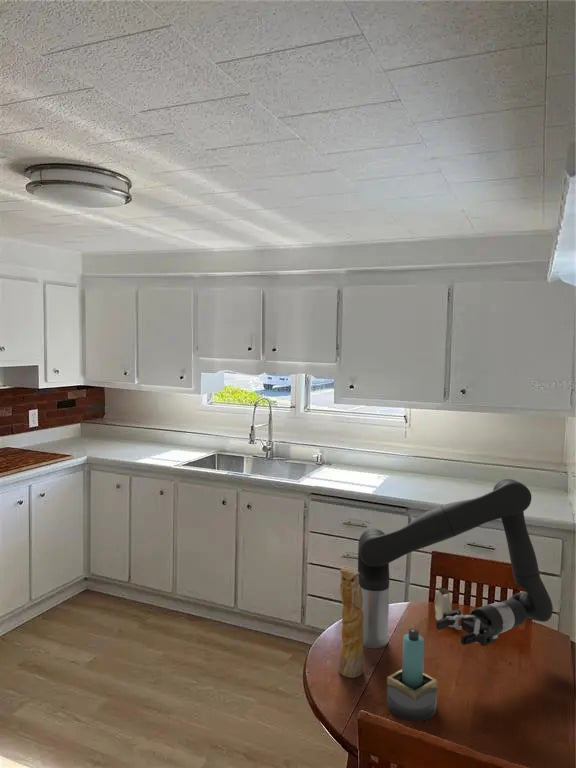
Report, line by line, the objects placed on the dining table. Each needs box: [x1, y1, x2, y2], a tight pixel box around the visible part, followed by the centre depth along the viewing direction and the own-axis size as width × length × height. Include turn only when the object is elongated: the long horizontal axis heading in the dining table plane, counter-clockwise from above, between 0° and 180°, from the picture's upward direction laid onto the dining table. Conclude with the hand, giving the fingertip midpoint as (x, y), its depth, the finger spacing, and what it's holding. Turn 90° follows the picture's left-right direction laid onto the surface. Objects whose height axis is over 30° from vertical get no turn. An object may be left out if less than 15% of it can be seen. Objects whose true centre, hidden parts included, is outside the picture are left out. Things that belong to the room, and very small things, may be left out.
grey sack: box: [433, 587, 453, 621], centre depth 189 cm, size 9×8×10 cm
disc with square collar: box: [386, 668, 438, 722], centre depth 143 cm, size 12×12×7 cm
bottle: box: [401, 627, 425, 690], centre depth 142 cm, size 5×5×14 cm
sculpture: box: [338, 568, 364, 679], centre depth 155 cm, size 7×9×30 cm
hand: (449, 633), depth 148 cm, fingers open, 8 cm apart
